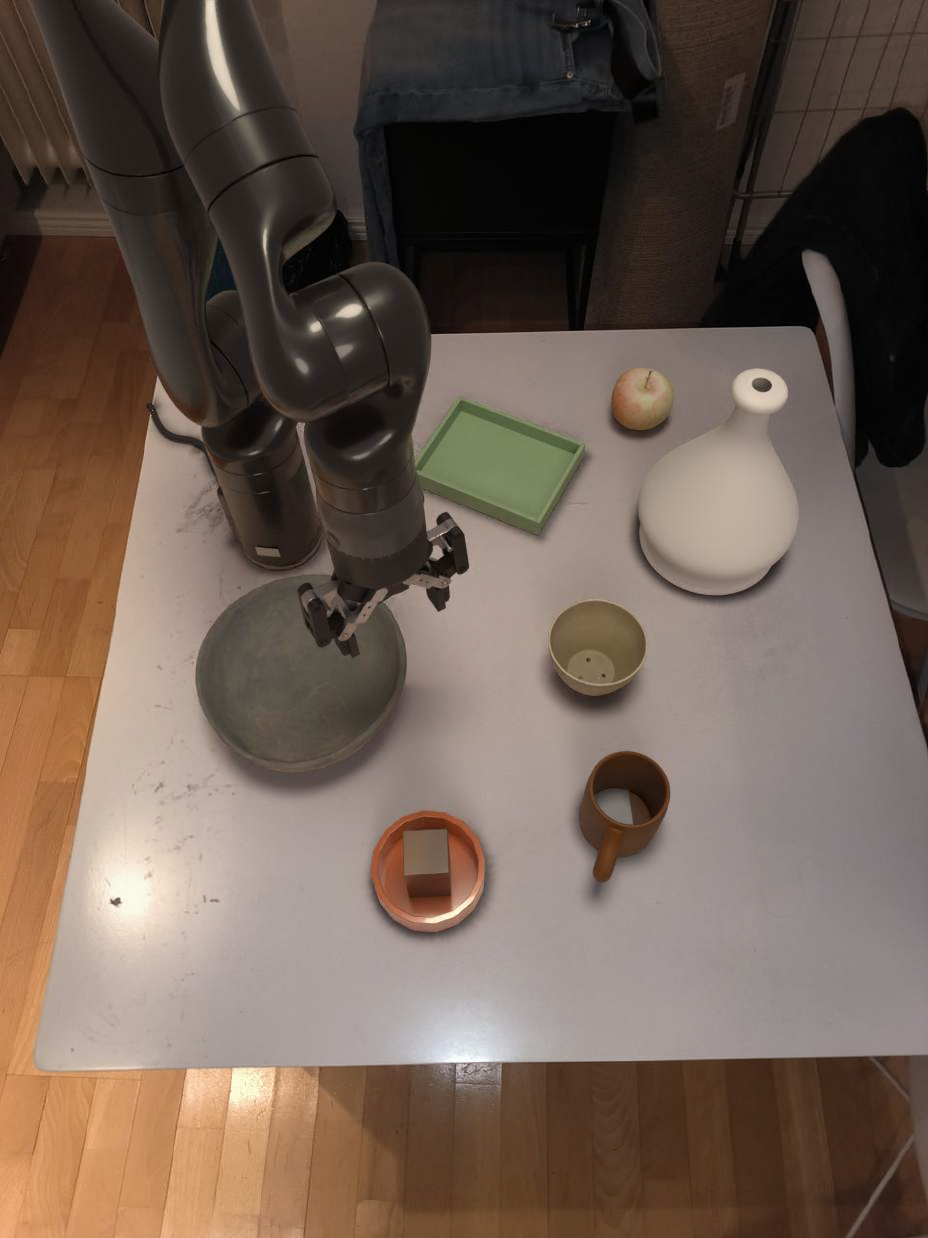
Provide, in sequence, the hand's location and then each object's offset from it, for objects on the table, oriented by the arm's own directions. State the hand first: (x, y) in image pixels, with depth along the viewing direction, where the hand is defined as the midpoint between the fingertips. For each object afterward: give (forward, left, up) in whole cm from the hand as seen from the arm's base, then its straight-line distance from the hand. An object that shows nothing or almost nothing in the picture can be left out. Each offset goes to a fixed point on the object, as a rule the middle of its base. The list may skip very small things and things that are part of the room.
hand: (394, 625), depth 84 cm
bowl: (-10, -3, -20) cm, 22 cm away
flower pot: (+15, +13, -20) cm, 28 cm away
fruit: (+6, +48, -20) cm, 52 cm away
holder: (+10, -14, -19) cm, 26 cm away
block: (+10, -14, -19) cm, 25 cm away
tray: (-6, +33, -19) cm, 39 cm away
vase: (+20, +35, -20) cm, 45 cm away
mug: (+24, -3, -20) cm, 31 cm away
